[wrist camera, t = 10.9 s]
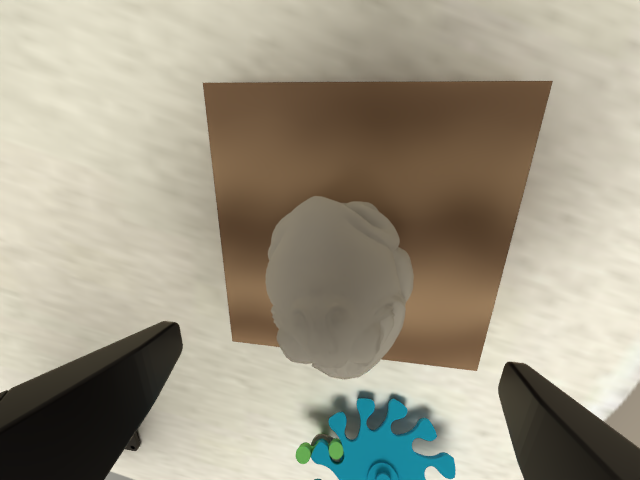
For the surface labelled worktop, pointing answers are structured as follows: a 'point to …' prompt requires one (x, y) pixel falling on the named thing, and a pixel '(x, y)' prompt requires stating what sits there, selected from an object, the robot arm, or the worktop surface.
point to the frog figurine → (337, 285)
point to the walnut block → (380, 190)
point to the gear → (375, 448)
